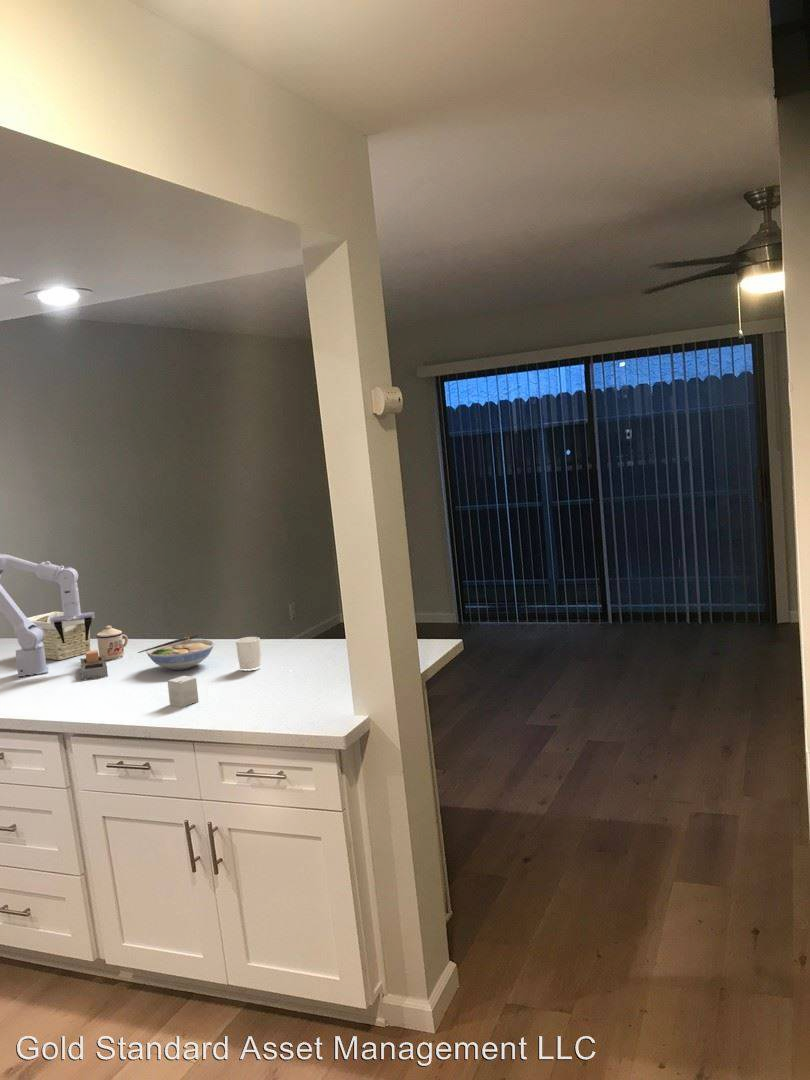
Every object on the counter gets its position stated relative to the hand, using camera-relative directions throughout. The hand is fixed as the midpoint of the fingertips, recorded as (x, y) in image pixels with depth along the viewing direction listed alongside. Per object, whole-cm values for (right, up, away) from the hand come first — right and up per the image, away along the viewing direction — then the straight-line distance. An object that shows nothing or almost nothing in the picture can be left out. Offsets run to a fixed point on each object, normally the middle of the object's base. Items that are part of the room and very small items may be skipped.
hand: (75, 641), depth 316 cm
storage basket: (-16, -8, +27) cm, 33 cm away
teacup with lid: (+9, -8, +17) cm, 20 cm away
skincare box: (+51, -13, -52) cm, 73 cm away
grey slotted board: (+8, -10, -5) cm, 14 cm away
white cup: (+64, -8, -17) cm, 67 cm away
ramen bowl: (+39, -8, -8) cm, 41 cm away
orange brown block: (+6, -10, 0) cm, 12 cm away
